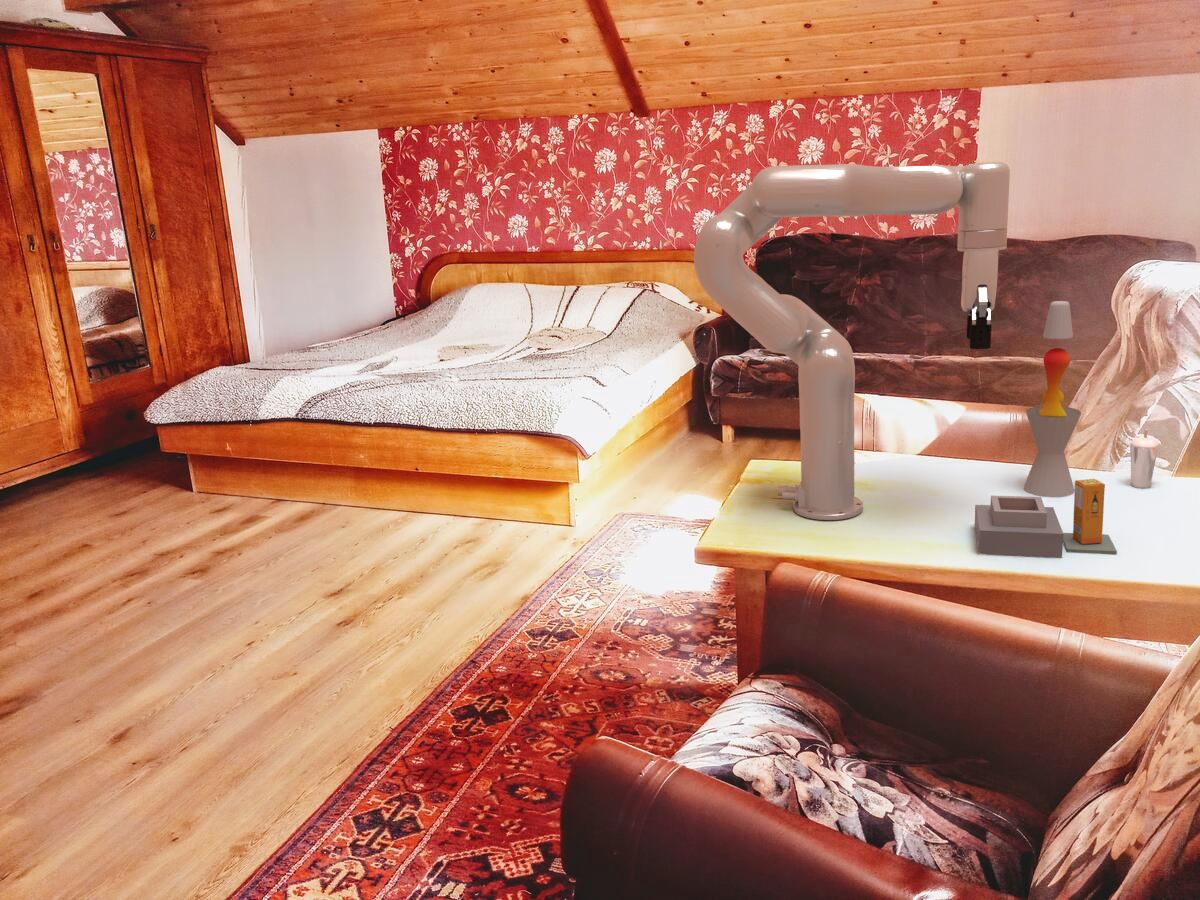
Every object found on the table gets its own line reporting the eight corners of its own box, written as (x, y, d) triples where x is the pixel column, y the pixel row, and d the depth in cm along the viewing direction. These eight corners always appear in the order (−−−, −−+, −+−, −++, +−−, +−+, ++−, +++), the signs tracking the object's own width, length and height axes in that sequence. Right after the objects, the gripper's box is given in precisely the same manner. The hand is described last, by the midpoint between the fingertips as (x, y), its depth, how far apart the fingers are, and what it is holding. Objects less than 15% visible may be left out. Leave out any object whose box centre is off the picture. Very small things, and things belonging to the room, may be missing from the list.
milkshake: (1155, 481, 173) (1160, 430, 170) (1154, 490, 169) (1159, 437, 166) (1127, 479, 175) (1132, 428, 173) (1125, 488, 171) (1130, 435, 168)
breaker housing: (978, 553, 148) (980, 515, 146) (974, 526, 159) (975, 490, 157) (1061, 557, 144) (1064, 518, 143) (1051, 529, 155) (1054, 493, 153)
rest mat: (1066, 551, 146) (1066, 549, 146) (1060, 535, 153) (1060, 532, 152) (1116, 554, 144) (1116, 551, 144) (1108, 537, 150) (1108, 534, 150)
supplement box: (1091, 536, 150) (1096, 477, 147) (1102, 544, 147) (1107, 484, 144) (1070, 537, 150) (1074, 478, 148) (1080, 545, 147) (1085, 485, 144)
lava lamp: (1079, 498, 168) (1093, 304, 158) (1024, 496, 171) (1034, 306, 161) (1071, 482, 176) (1084, 297, 167) (1019, 481, 179) (1029, 299, 169)
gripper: (955, 237, 162) (952, 334, 167) (959, 246, 146) (956, 353, 151) (1002, 235, 160) (998, 334, 165) (1011, 243, 144) (1006, 352, 149)
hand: (978, 343), depth 158 cm, fingers open, 9 cm apart
